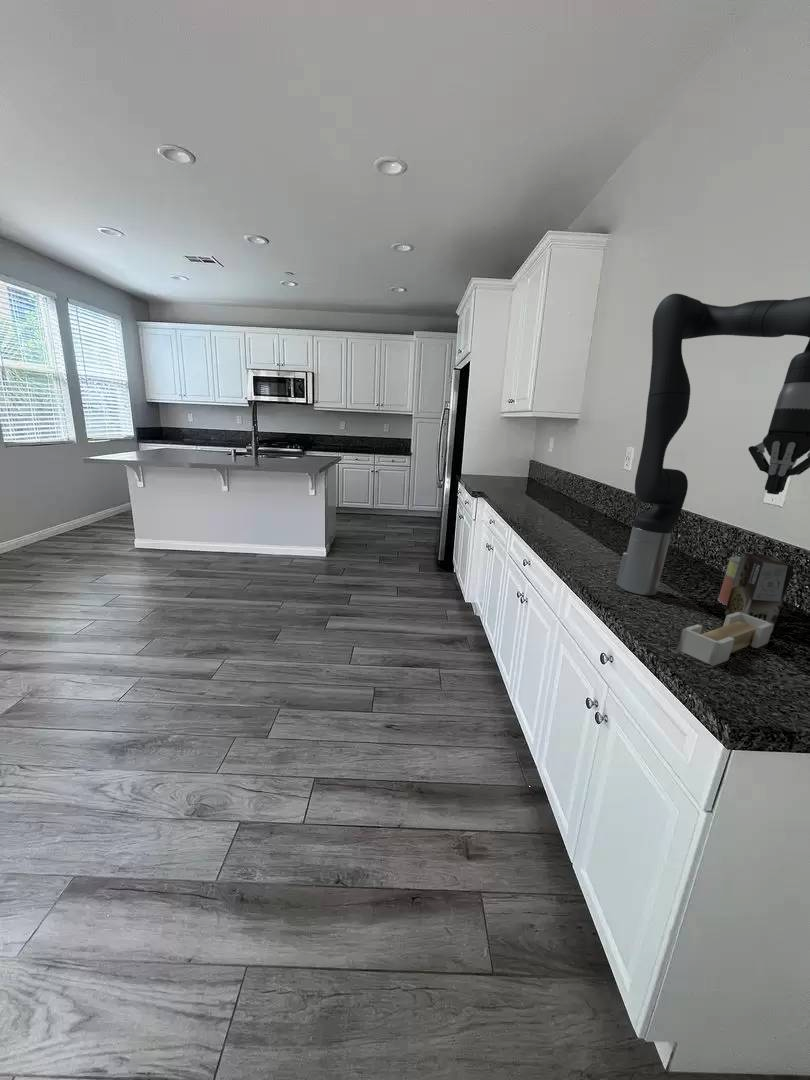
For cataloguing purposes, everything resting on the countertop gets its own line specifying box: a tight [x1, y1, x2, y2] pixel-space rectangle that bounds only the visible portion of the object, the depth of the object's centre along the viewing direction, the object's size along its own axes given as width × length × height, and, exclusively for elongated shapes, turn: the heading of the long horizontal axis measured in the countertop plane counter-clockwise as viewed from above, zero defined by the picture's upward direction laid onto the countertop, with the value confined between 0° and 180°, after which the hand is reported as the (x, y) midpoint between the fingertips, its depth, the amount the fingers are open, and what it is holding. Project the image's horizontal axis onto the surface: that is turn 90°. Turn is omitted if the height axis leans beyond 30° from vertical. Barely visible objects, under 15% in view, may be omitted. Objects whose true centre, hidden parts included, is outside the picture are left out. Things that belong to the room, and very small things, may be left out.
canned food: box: [717, 555, 741, 607], centre depth 114 cm, size 11×11×12 cm
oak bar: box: [700, 621, 757, 654], centre depth 88 cm, size 3×18×4 cm, turn 121°
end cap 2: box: [722, 612, 775, 649], centre depth 94 cm, size 7×6×4 cm
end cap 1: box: [676, 623, 735, 667], centre depth 84 cm, size 7×6×4 cm
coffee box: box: [724, 552, 795, 634], centre depth 102 cm, size 9×6×16 cm
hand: (772, 493), depth 92 cm, fingers closed
